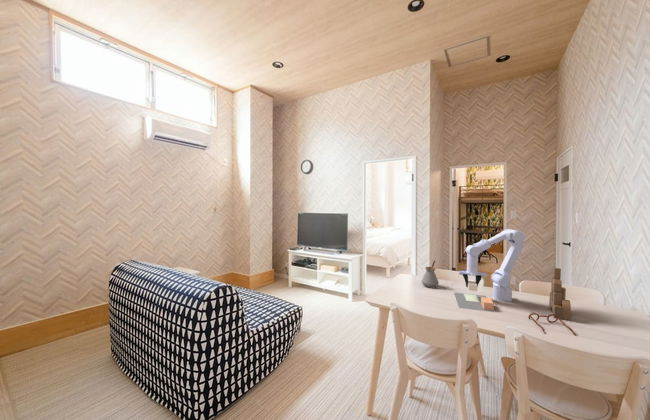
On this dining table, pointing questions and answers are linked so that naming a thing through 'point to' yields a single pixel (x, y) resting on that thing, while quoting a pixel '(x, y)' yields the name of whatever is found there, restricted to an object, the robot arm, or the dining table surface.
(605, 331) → the dining table surface
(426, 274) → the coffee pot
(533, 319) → the glasses
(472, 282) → the cream brick
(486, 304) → the terracotta brick
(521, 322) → the dining table surface
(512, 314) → the dining table surface
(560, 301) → the wooden toy
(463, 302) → the baseplate
